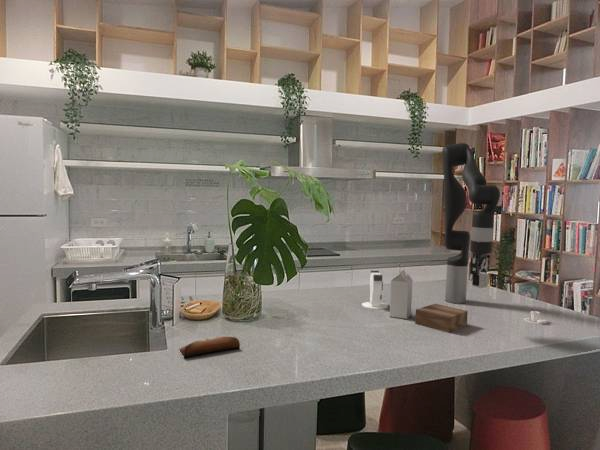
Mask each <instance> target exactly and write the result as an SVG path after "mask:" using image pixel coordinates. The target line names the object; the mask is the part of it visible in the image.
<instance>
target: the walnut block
mask: <svg viewBox="0 0 600 450" xmlns="http://www.w3.org/2000/svg"><path fill="white" fill-rule="evenodd" d="M468 312H469V311H468V310H464V309H461V308H456V307H451V306H447V305H443V304H438V303H433V304H429V305H426V306H422V307H418V308H416V309H415V319H414V324H415V325H418V326H422V327H424V328H425V327H426V328H430V329H433V330H436V331H441V332H443V333H451V332H453V331H456V330H460V329H461V328H465V327H467V325H468V315H469V314H468Z"/></svg>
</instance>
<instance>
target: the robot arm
mask: <svg viewBox="0 0 600 450" xmlns="http://www.w3.org/2000/svg"><path fill="white" fill-rule="evenodd" d="M441 158H442V161H441V162H442V167H443V168H442V170H443V179H444V180H443V182H444V184H443V185H444V194H443V195H444V196H443V198H444V199H443V200H444V204H443V205H444V218H445V223H444V224H445V225H444V247H445V248H446V250H451V251H460V253H459V254H458V255H455V256H451V257H448V258H447V260H446V274H445V275H446V276H445V299H444V300H445V301H446V302H448V303H452V304H465V303H466V302H467V290H468V271H469V274H470V275H471V274H472V275H473V282H472V285H474V286H479V278H480V276H479V275H480V272H484V273H487V274H488V271H490V263H491V262H490V259H491V254H492V253H493V241H494V232H493V231H494V230H493V228H494V227H493V226H494V216H495V212H496V209H497V206H498V204H499V201H500V197H501V192H500V188H498V187H497V186H496V185H494V184H490V185H489V184H487V180H486V177H485V176H484V175H483V174H482V172H481V170H480V169H479V167H478V164H477V162H476V159H475V157H474V154H473V152H472V149H471V147H470V146H469V145H468V143H466V142H460V143H455V144H453V143H452V144H448V145H444V146H443V148H442V151H441ZM459 166H464V168H463V170H462V173H461V178H462V180H463V181H462V182H463V183H464V184H465V186H466V187H467V188H466V189H467V191H468V192H466V189H465V188H464V186H463V185H462V184H461V183H460V181H459V180H458V179H457V178H456V176H455V175H454V172H453V167H459ZM467 193H468V200H469V202H470V203H472V204H475V205H485V206H484V208H483V209H480V210H476V211H474V212H473V214H472V220H471V226H472V227H471V232H469V231H468V230H454V229H453V228H454V226H455V224H456V222H457V220H459V218H460V216H461V215H462V214H463V213H464V211H466V208H467ZM469 251H470V252H471V253H474V256H473V257H471V258H470V264H469V254H470V253H469ZM469 265H470V269H469V268H468V267H469ZM472 285H471V286H472ZM474 286H473V287H474Z"/></svg>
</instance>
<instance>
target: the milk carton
mask: <svg viewBox="0 0 600 450" xmlns="http://www.w3.org/2000/svg"><path fill="white" fill-rule="evenodd" d="M412 296H413V278H412V277H411V275H410V274H409V273H408V272H406V268H405V269H404V268H403V269H401V270H400V271H399V274H397V276H395V277H394V278H392V279H391V280H390V297H389V298H390V299H389V300H390V301H389V317H393V318H397V319H404V320H408V319H409V317H411V316H412V305H413V304H412V302H413V301H412V300H413V297H412Z"/></svg>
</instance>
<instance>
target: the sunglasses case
mask: <svg viewBox="0 0 600 450" xmlns="http://www.w3.org/2000/svg"><path fill="white" fill-rule="evenodd" d="M240 343H241V342H240V340H239V339H238V338H237V337H234V336H218V337H217V336H216V337H214V338H210V339H209V338H206V339H204V340H196V341H193V342H191V343H189V344H187V345H185V346H183V347H181V348H179V349H178V350H180V352H181V353H182V354H181V353H180V352H179V353H180V354H181V356H182V355H183V356H184V357H183V356H182V357H183V358H184V359H185V358H191V357H195V356H198V355H202V354H205V353H213V352H217V351H225V350H230V349H240V347H241V345H240Z"/></svg>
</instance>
